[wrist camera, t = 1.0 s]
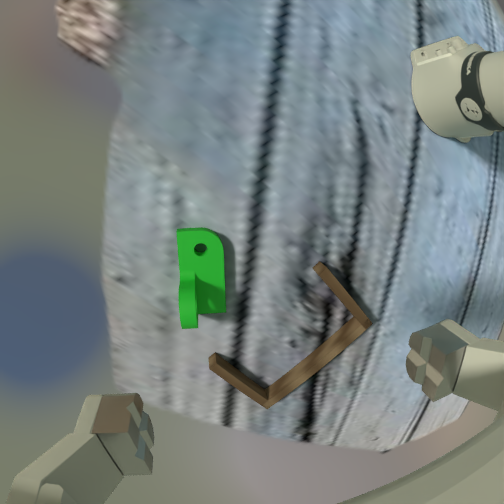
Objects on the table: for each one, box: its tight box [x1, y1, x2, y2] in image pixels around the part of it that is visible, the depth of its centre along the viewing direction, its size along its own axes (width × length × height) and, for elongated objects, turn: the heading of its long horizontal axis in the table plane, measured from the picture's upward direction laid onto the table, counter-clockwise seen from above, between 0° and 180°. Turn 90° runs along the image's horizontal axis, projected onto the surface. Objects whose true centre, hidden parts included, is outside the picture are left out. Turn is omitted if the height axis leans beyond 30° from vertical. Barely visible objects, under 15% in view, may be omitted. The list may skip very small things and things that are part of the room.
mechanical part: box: [177, 228, 226, 329], centre depth 41 cm, size 12×6×8 cm, turn 1°
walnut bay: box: [209, 261, 373, 409], centre depth 48 cm, size 23×14×3 cm, turn 132°
